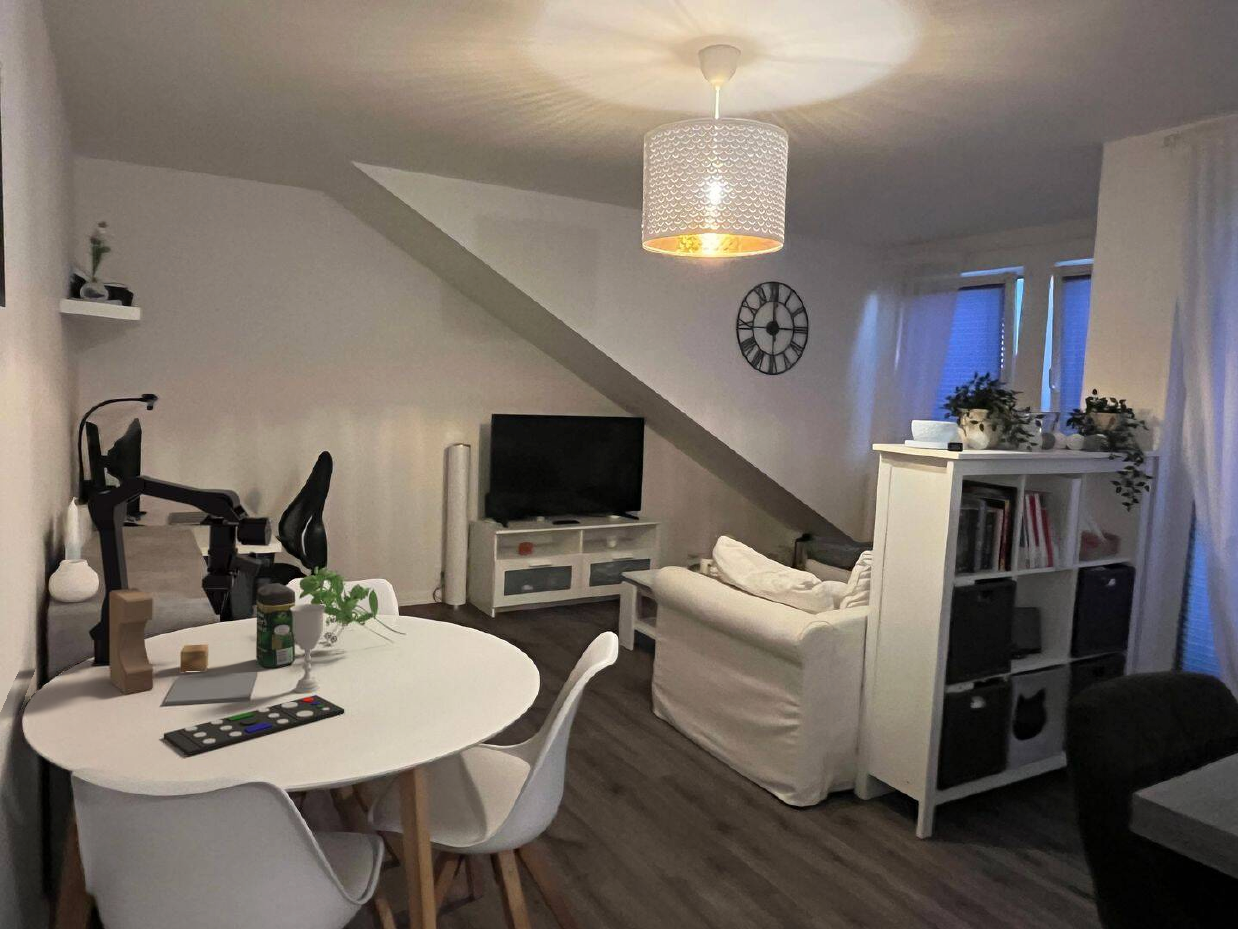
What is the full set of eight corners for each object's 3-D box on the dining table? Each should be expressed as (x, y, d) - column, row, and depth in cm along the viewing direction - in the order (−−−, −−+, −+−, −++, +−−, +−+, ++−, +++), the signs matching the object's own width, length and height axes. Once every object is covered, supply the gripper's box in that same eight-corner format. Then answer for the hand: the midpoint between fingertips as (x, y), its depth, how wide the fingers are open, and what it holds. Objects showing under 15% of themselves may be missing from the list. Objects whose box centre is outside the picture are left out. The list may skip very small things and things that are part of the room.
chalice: (290, 696, 180) (292, 613, 178) (287, 686, 186) (288, 605, 184) (326, 692, 183) (328, 610, 182) (322, 682, 189) (323, 603, 188)
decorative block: (154, 689, 180) (154, 597, 179) (124, 695, 176) (123, 601, 175) (138, 676, 188) (138, 587, 186) (109, 681, 184) (108, 590, 182)
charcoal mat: (163, 705, 172) (163, 702, 172) (179, 679, 187) (179, 676, 187) (249, 700, 177) (249, 696, 177) (257, 675, 192) (257, 671, 192)
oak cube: (180, 673, 191) (180, 652, 191) (184, 666, 196) (184, 645, 195) (204, 672, 193) (204, 650, 192) (208, 665, 197) (208, 644, 197)
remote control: (344, 716, 172) (344, 706, 172) (188, 760, 149) (188, 749, 149) (316, 701, 179) (316, 692, 179) (163, 741, 157) (163, 730, 156)
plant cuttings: (336, 646, 237) (271, 607, 225) (372, 594, 243) (311, 553, 230) (390, 682, 210) (320, 640, 198) (430, 623, 216) (364, 578, 203)
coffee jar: (251, 659, 203) (252, 583, 201) (285, 654, 207) (286, 579, 206) (263, 670, 195) (264, 591, 193) (298, 665, 200) (299, 587, 198)
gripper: (256, 552, 192) (254, 619, 193) (262, 537, 209) (260, 599, 211) (202, 551, 188) (200, 620, 189) (213, 537, 206) (211, 600, 207)
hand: (220, 609), depth 199 cm, fingers open, 9 cm apart
